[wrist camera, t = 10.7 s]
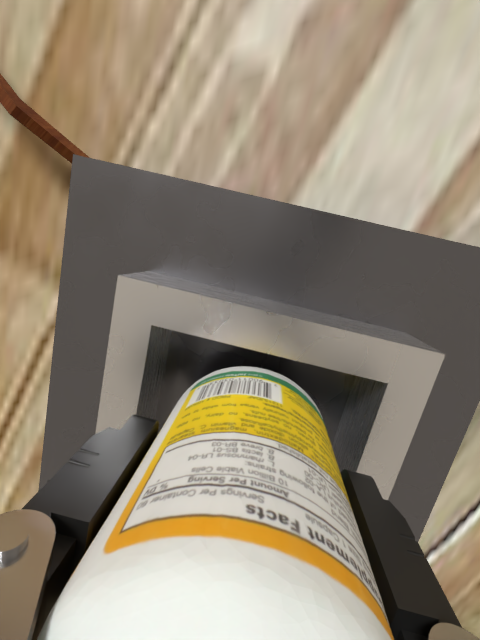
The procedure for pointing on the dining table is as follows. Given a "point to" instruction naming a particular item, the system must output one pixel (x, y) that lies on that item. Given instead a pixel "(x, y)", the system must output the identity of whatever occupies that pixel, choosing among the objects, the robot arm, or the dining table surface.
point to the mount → (264, 321)
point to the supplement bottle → (229, 530)
